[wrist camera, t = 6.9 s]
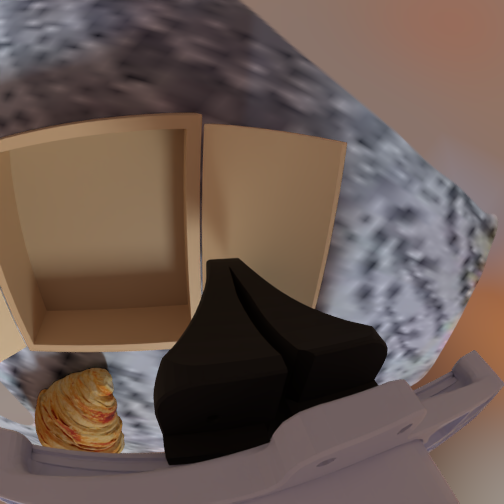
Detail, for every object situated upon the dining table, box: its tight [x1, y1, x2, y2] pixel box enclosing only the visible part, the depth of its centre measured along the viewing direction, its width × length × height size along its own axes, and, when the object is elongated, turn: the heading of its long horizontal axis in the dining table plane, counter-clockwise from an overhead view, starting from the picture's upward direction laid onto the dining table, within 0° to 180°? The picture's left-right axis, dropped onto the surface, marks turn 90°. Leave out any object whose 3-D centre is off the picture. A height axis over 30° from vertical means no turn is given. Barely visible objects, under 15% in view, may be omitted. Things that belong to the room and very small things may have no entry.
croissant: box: [35, 368, 125, 453], centre depth 21 cm, size 21×10×8 cm, turn 143°
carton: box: [0, 113, 202, 352], centre depth 14 cm, size 13×12×4 cm
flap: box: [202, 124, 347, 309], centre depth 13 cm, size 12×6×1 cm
